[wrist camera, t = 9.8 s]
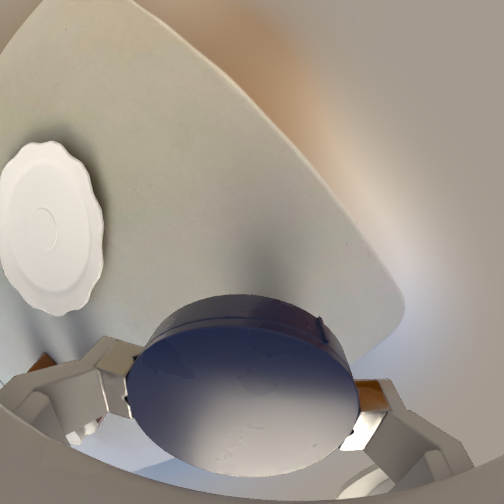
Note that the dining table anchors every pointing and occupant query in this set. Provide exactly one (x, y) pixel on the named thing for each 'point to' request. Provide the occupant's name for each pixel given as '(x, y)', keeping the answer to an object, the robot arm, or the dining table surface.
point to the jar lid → (244, 387)
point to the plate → (50, 228)
